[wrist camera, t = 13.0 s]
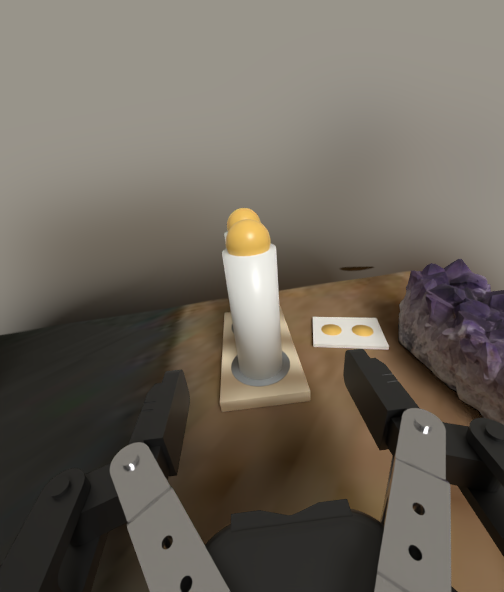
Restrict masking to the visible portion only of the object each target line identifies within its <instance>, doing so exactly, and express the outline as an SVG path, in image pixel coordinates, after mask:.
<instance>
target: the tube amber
mask: <svg viewBox="0 0 504 592" xmlns="http://www.w3.org/2000/svg"><path fill="white" fill-rule="evenodd" d="M222 256H223V263H224V269H225V276H226V282H227V289H228V296H229V302H230V309H231V316H232V322H233V329H234V335H235V342H236V349H237V355H238V362H239V368H240V371H241V373H242V374H243V375H244V376H246V377H247V378H250V379H254V380H265V379H269V378H272V377H274V376H275V375H277V374H278V373H279V372H280V370H281V368H282V346H281V328H280V311H279V293H278V276H277V259H276V247H275V246H274V245H273V244H270V236H269V233H268V231H267V229H266V228H265V227H264V226H263V225H262V224H261V223H260V222H258V221H256V220H252V219H244V220H240V221H238V222H236V223H235V224H234V225H233V226H232V227H231V228H230V229H229V231H228V233H227V236H226V249H225V250H223V252H222Z"/></svg>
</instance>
